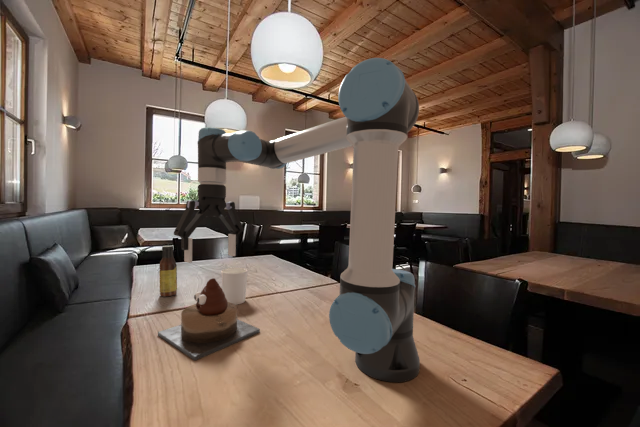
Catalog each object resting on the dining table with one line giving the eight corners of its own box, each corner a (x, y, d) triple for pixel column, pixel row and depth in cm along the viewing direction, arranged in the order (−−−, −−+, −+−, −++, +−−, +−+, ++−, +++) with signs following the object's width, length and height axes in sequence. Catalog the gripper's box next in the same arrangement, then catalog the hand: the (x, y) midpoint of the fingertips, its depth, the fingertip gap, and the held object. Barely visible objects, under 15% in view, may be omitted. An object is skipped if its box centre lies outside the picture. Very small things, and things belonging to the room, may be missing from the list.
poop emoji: (232, 311, 81) (233, 279, 80) (201, 318, 75) (202, 284, 75) (219, 302, 88) (220, 272, 88) (190, 307, 83) (191, 276, 83)
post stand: (259, 332, 84) (260, 308, 83) (194, 360, 68) (195, 331, 68) (220, 314, 96) (221, 294, 96) (157, 335, 80) (158, 310, 80)
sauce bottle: (180, 294, 116) (180, 246, 115) (164, 298, 111) (165, 247, 110) (171, 291, 119) (171, 244, 119) (155, 295, 114) (156, 246, 114)
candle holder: (239, 307, 104) (240, 274, 103) (215, 304, 106) (215, 272, 105) (251, 298, 113) (252, 268, 113) (229, 296, 115) (229, 267, 115)
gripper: (240, 187, 93) (239, 252, 93) (159, 181, 73) (159, 263, 73) (255, 186, 88) (254, 254, 89) (173, 180, 68) (173, 267, 69)
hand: (211, 258), depth 81 cm, fingers open, 13 cm apart
